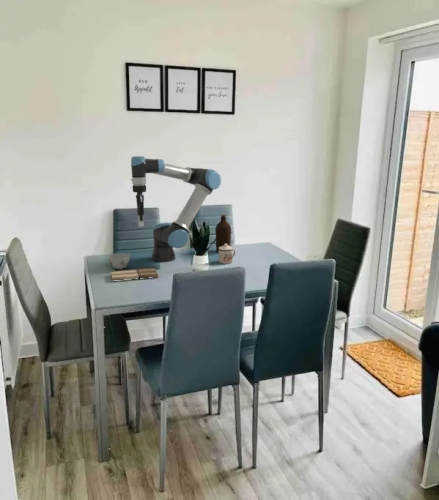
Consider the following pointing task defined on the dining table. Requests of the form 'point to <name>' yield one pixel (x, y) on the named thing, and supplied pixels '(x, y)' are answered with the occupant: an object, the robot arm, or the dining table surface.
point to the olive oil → (222, 233)
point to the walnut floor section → (147, 272)
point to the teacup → (119, 260)
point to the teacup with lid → (226, 254)
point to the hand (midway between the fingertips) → (141, 226)
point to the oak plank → (124, 274)
